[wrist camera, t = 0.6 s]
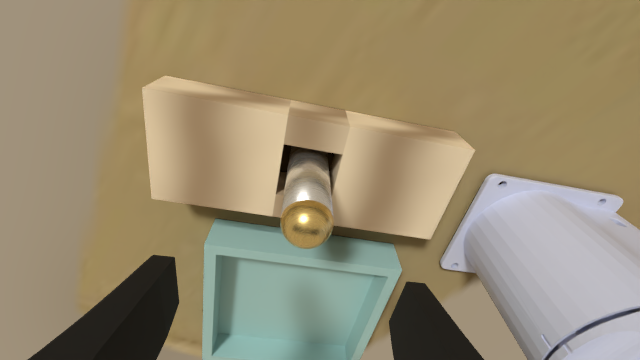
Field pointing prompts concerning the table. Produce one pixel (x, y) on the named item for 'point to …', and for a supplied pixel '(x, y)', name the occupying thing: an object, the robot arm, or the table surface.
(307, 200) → the pin
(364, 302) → the tray
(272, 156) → the beige slotted block
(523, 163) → the table surface
